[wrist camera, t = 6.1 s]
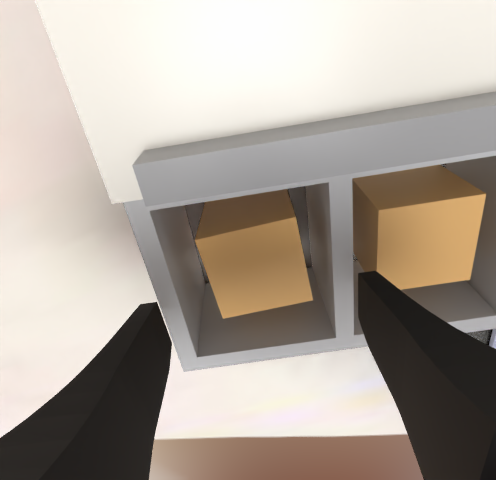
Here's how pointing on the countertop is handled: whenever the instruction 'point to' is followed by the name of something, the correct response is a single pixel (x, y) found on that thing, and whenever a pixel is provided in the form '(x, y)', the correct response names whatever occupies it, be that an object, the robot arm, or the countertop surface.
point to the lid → (272, 88)
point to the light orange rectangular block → (253, 253)
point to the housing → (339, 260)
